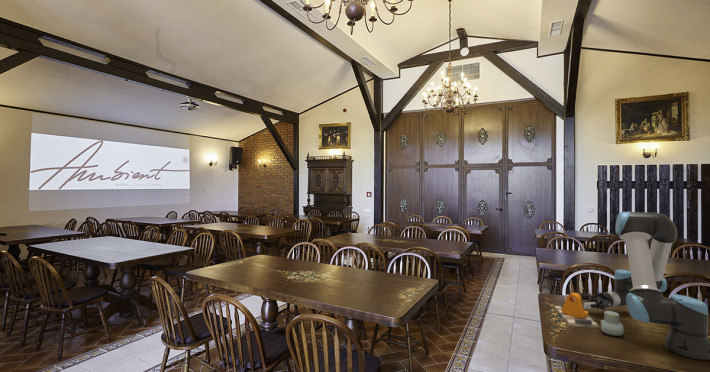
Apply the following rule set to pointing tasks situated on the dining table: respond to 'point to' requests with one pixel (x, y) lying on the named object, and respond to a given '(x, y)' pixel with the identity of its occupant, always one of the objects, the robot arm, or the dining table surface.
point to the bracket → (574, 306)
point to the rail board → (571, 319)
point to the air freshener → (611, 324)
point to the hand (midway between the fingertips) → (574, 301)
